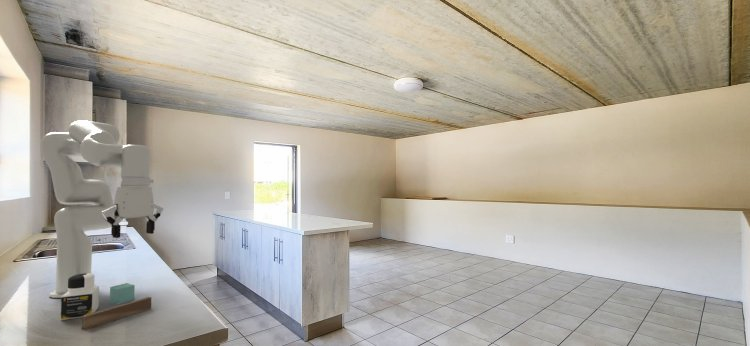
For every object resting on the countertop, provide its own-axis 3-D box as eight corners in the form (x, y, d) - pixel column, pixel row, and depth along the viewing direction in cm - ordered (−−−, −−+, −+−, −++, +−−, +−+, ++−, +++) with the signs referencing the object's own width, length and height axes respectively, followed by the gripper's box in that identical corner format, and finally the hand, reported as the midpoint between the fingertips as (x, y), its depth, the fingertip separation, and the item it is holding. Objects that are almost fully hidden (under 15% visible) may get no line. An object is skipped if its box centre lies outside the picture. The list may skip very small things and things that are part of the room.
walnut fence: (81, 328, 89) (81, 315, 89) (147, 307, 104) (148, 296, 104) (84, 329, 88) (84, 317, 88) (151, 308, 103) (151, 297, 103)
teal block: (109, 301, 109) (110, 287, 109) (126, 297, 114) (126, 283, 114) (117, 304, 107) (117, 289, 107) (134, 299, 111) (134, 285, 112)
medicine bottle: (60, 320, 94) (61, 279, 94) (69, 312, 100) (70, 273, 101) (91, 316, 97) (92, 276, 98) (98, 308, 104) (99, 270, 104)
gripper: (157, 182, 114) (155, 231, 114) (97, 182, 99) (95, 238, 99) (169, 183, 111) (168, 232, 110) (109, 182, 96) (107, 240, 95)
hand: (133, 235), depth 105 cm, fingers open, 9 cm apart
